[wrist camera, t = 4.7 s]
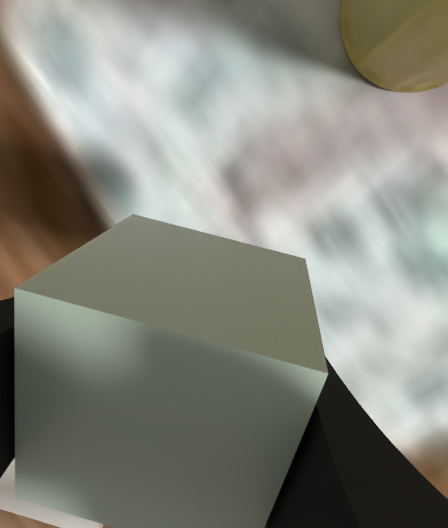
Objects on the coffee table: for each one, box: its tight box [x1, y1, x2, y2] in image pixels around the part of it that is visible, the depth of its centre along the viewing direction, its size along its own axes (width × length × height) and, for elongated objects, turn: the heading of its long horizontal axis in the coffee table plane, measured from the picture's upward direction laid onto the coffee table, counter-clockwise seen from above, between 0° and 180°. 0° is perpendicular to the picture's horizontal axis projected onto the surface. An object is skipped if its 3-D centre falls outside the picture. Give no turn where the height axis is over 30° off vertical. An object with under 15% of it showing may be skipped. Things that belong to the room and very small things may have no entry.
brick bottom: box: [14, 214, 328, 528], centre depth 9 cm, size 5×5×5 cm
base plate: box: [0, 458, 103, 528], centre depth 26 cm, size 11×11×1 cm
